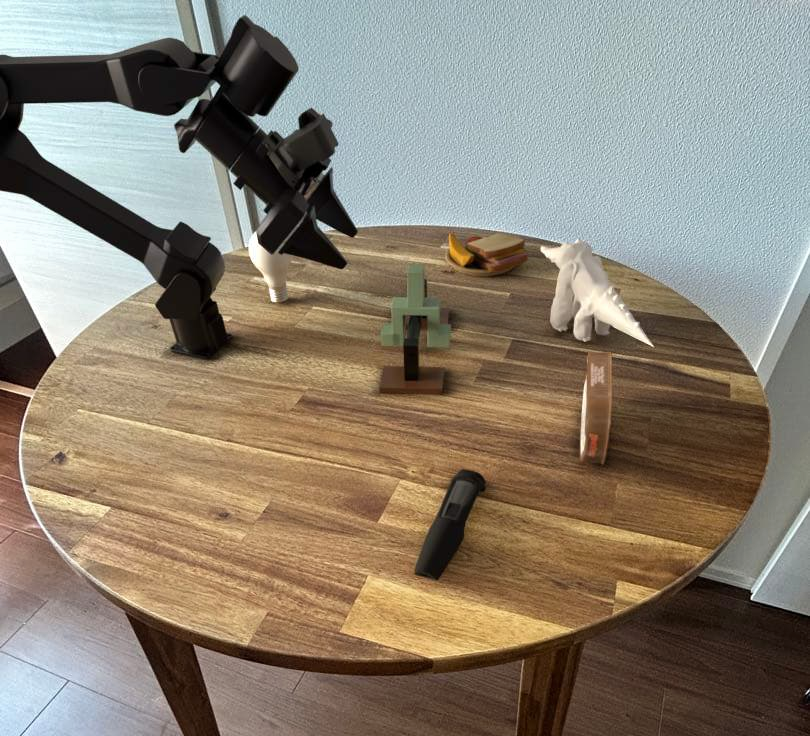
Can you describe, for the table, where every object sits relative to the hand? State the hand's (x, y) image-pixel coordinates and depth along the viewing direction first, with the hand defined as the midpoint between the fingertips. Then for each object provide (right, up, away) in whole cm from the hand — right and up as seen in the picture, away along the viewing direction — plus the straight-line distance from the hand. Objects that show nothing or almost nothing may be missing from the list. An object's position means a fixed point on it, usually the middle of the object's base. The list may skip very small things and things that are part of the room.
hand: (350, 250), depth 80 cm
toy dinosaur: (+32, -8, +10) cm, 34 cm away
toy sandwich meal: (+20, +10, +27) cm, 35 cm away
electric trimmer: (+11, -35, -14) cm, 40 cm away
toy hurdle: (+8, -10, +9) cm, 16 cm away
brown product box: (+28, -24, -5) cm, 37 cm away
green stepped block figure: (+8, -9, +8) cm, 15 cm away
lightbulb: (-13, +1, +20) cm, 24 cm away
